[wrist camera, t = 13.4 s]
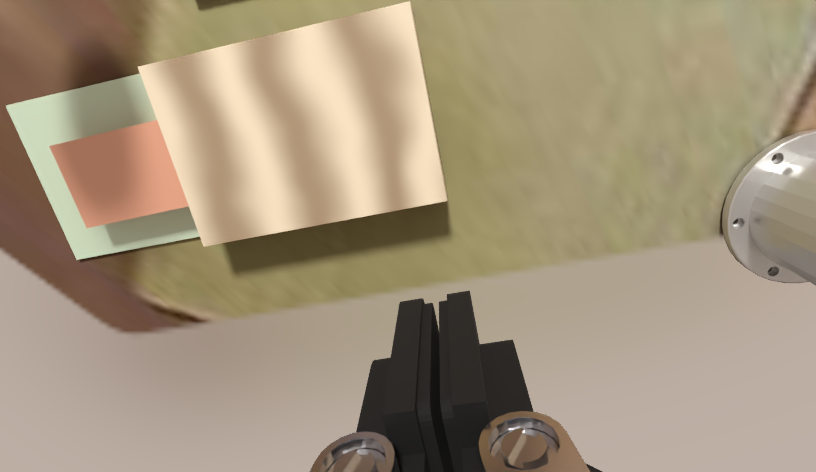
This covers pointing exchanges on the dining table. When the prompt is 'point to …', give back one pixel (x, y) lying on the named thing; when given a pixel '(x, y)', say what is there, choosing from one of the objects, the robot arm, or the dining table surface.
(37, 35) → the dining table surface
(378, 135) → the beige box
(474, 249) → the dining table surface
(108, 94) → the mat
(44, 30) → the dining table surface
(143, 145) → the tile
